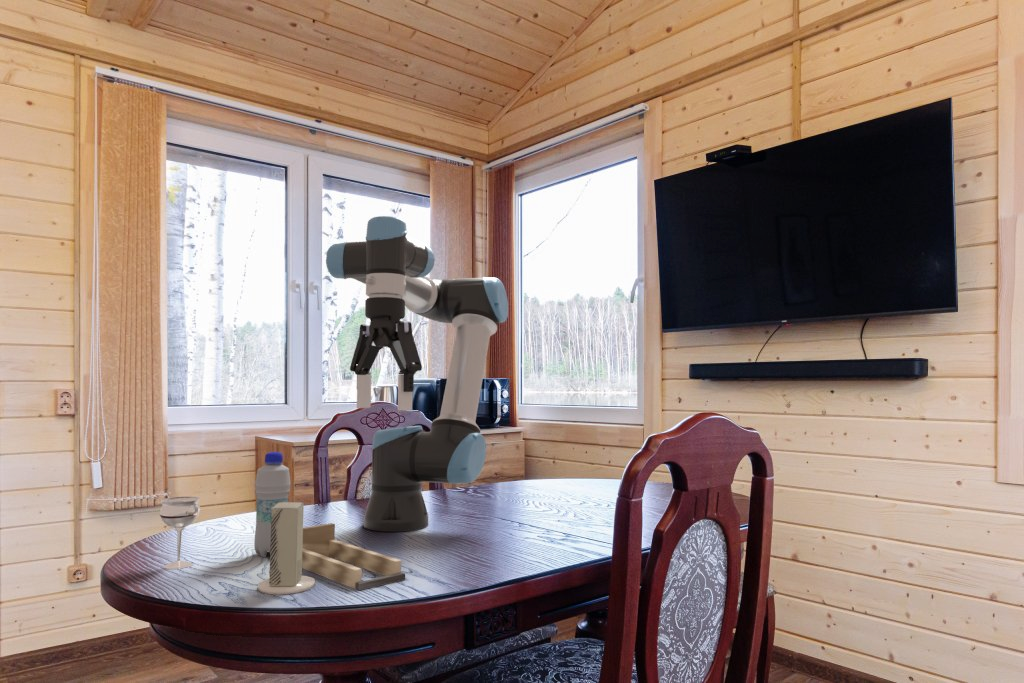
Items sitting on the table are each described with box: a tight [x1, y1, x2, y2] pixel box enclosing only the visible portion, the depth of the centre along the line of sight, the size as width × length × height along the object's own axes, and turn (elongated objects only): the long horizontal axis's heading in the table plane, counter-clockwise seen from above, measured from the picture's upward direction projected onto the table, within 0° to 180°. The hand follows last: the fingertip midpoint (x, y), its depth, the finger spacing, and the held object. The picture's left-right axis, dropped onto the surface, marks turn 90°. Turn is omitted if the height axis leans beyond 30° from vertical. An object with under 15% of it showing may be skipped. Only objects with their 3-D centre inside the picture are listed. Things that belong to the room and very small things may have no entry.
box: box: [268, 501, 305, 587], centre depth 116 cm, size 5×4×13 cm
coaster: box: [257, 575, 316, 596], centre depth 116 cm, size 9×9×1 cm
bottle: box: [253, 451, 292, 558], centre depth 138 cm, size 7×7×20 cm
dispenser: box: [302, 522, 406, 591], centre depth 126 cm, size 24×9×6 cm, turn 45°
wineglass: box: [159, 496, 201, 570], centre depth 129 cm, size 7×7×12 cm
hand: (383, 409), depth 133 cm, fingers open, 13 cm apart
